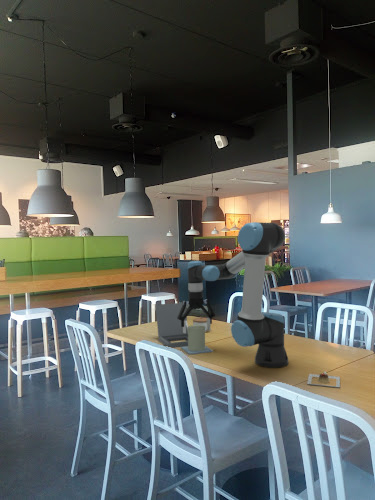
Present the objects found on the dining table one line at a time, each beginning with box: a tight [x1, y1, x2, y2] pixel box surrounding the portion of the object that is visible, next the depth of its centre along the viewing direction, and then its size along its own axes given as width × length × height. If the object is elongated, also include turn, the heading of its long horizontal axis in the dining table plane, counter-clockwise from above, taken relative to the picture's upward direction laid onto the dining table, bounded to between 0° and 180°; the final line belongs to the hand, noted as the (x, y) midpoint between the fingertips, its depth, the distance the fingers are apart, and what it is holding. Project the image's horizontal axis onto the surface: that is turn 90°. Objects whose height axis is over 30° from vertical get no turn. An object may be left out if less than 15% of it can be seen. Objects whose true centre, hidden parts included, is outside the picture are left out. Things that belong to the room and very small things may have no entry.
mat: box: [180, 345, 214, 355], centre depth 208 cm, size 13×13×1 cm
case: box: [155, 302, 189, 349], centre depth 226 cm, size 23×18×20 cm
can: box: [188, 324, 206, 351], centre depth 208 cm, size 9×9×12 cm
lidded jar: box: [192, 316, 208, 333], centre depth 250 cm, size 11×11×9 cm
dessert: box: [306, 370, 341, 388], centre depth 159 cm, size 12×12×5 cm
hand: (196, 331), depth 208 cm, fingers open, 13 cm apart
